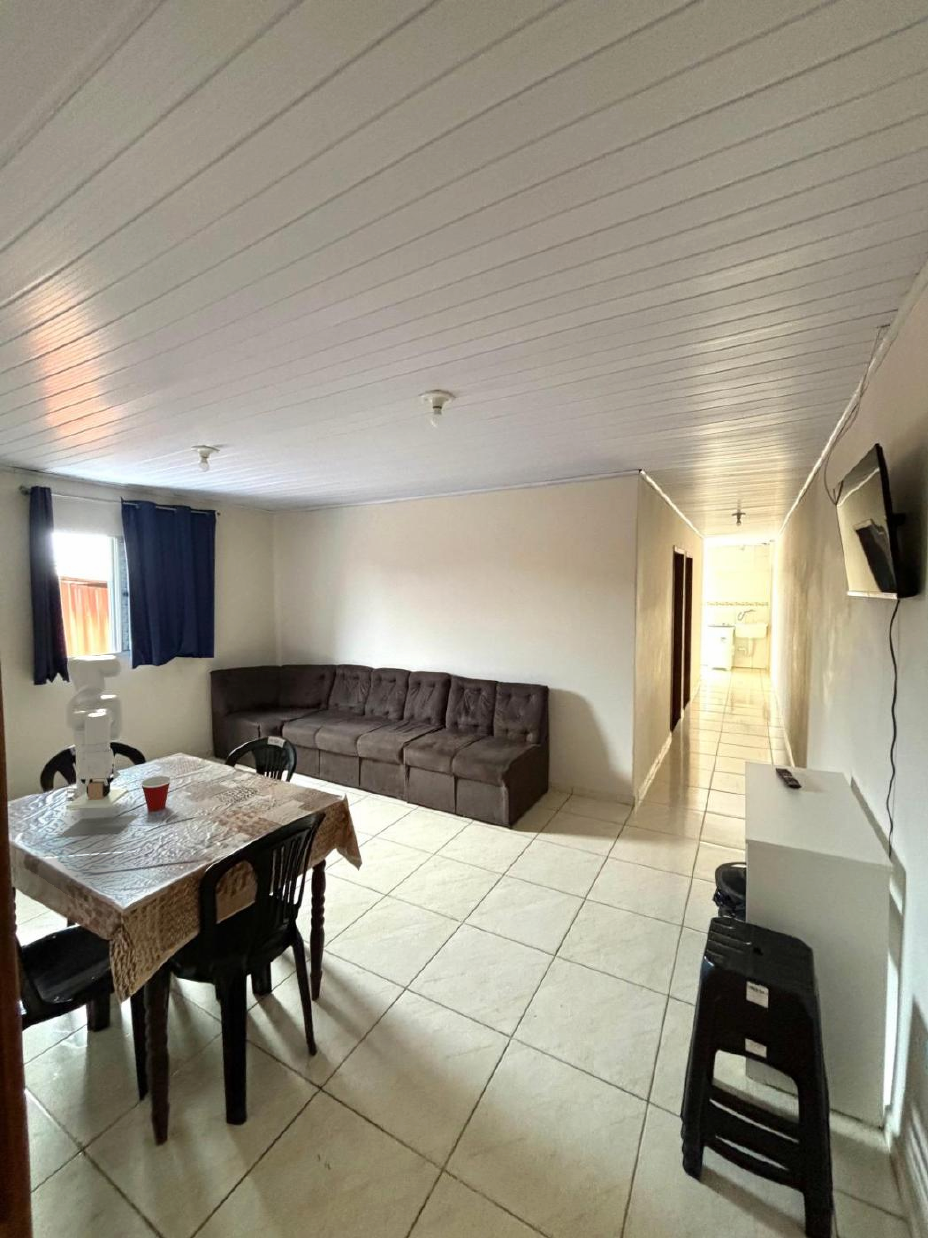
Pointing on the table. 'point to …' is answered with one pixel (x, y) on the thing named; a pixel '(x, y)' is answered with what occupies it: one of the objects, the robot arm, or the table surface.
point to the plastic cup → (156, 792)
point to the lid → (97, 796)
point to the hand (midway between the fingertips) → (98, 794)
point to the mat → (98, 826)
